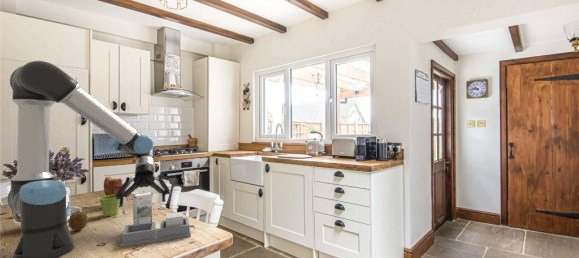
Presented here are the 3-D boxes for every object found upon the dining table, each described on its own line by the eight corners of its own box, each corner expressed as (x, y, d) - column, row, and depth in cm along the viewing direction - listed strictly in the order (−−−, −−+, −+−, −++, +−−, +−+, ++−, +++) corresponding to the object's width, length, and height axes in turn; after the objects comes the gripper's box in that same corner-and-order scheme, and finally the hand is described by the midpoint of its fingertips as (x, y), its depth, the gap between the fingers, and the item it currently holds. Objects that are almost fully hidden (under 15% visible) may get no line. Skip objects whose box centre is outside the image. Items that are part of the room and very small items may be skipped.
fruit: (90, 227, 120) (89, 208, 120) (84, 232, 114) (84, 212, 114) (72, 229, 119) (72, 209, 118) (66, 234, 113) (65, 214, 112)
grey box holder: (120, 247, 99) (119, 226, 99) (125, 236, 109) (124, 217, 109) (190, 236, 108) (190, 217, 108) (189, 227, 118) (188, 209, 118)
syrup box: (148, 225, 121) (147, 190, 121) (152, 228, 117) (151, 193, 117) (133, 228, 118) (132, 193, 118) (137, 232, 113) (136, 195, 113)
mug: (128, 205, 153) (127, 177, 153) (112, 209, 147) (111, 179, 146) (114, 202, 161) (113, 175, 161) (98, 205, 154) (97, 177, 154)
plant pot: (104, 219, 131) (104, 200, 131) (95, 216, 136) (94, 197, 136) (125, 213, 138) (125, 195, 138) (116, 210, 144) (115, 193, 144)
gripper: (174, 171, 137) (176, 211, 123) (114, 176, 127) (108, 219, 114) (174, 161, 132) (176, 201, 118) (111, 165, 122) (105, 209, 109)
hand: (142, 210), depth 116 cm, fingers open, 13 cm apart
